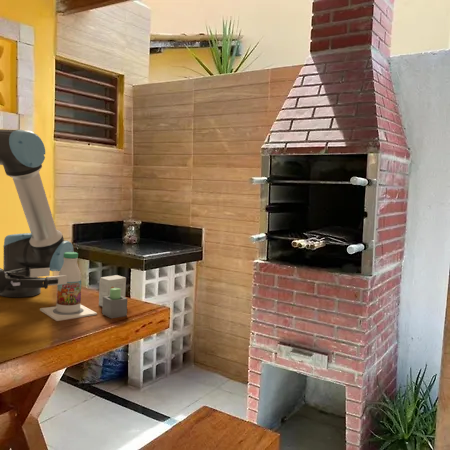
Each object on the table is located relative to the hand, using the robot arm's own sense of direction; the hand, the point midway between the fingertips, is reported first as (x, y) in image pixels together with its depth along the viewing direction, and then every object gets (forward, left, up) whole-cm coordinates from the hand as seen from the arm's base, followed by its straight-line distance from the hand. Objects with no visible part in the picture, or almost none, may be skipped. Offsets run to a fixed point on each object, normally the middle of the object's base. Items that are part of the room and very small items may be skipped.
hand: (57, 275), depth 153 cm
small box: (-1, +21, -13) cm, 25 cm away
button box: (+10, +16, -13) cm, 23 cm away
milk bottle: (0, +4, -13) cm, 13 cm away
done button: (+10, +16, -9) cm, 21 cm away
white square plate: (0, +4, -13) cm, 14 cm away
